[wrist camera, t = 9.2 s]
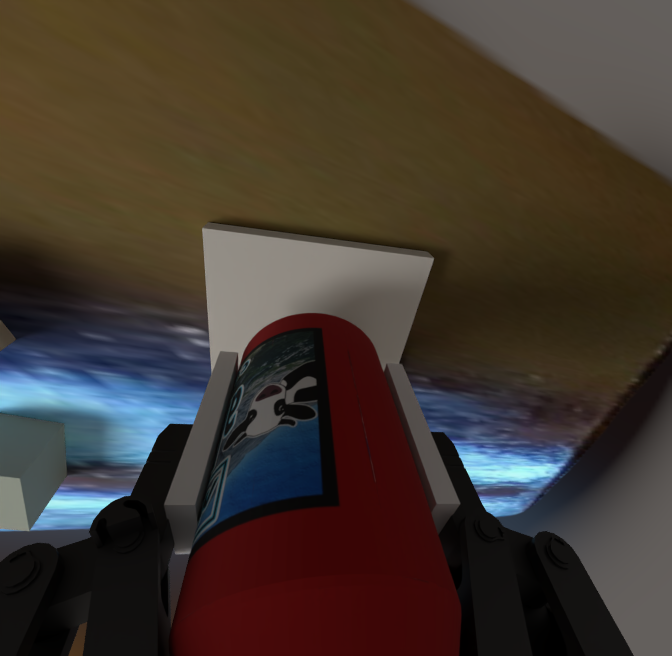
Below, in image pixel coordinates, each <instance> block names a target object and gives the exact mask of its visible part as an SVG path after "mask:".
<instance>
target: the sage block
mask: <svg viewBox="0 0 672 656" xmlns="http://www.w3.org/2000/svg"><path fill="white" fill-rule="evenodd" d="M66 476H67V466H66V448H65V429H64V423H58V422H52V421H46V420H39V419H33V418H27V417H21V416H15V415H9V414H3V413H0V529H10V530H22V531H30V529H31V528H32V526H33V525H34V523H35V522H36V521H37V519H38V518H39V516H40V515H41V513H42V512H43V510H44V509H45V507H46V506H47V504H48V503H49V501H50V500H51V498H52V497H53V495H54V494H55V493H56V491H57V490H58V488H59V487H60V485H61V484H62V482H63V481H64V479H65V478H66Z"/></svg>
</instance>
